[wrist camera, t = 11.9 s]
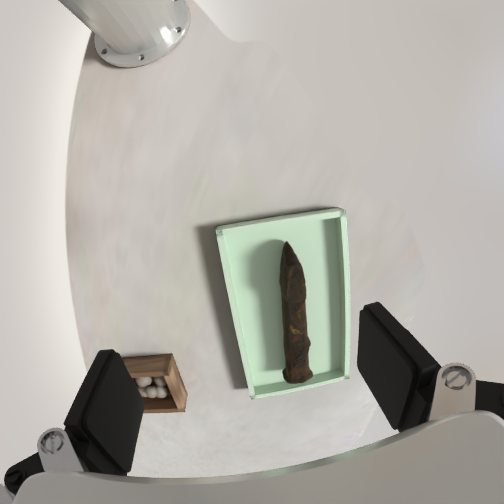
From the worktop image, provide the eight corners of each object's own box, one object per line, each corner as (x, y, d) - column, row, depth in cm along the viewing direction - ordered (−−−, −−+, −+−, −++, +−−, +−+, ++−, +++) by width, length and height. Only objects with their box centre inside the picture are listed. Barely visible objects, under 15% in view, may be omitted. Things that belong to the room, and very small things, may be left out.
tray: (216, 226, 33) (215, 230, 31) (337, 207, 34) (345, 210, 31) (249, 388, 40) (250, 399, 38) (343, 368, 41) (348, 378, 38)
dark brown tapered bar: (308, 365, 39) (316, 386, 35) (281, 370, 39) (286, 391, 34) (307, 237, 34) (319, 247, 30) (274, 240, 34) (281, 251, 29)
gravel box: (122, 357, 37) (113, 375, 33) (172, 353, 38) (167, 372, 33) (140, 396, 40) (134, 414, 35) (187, 393, 40) (184, 413, 36)
